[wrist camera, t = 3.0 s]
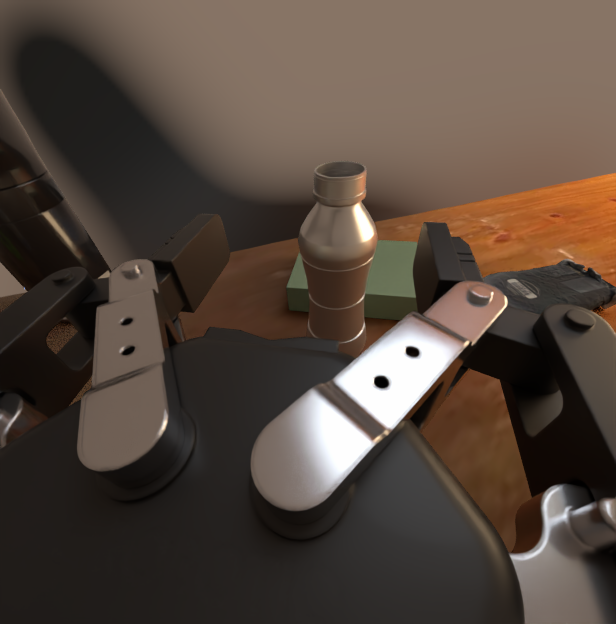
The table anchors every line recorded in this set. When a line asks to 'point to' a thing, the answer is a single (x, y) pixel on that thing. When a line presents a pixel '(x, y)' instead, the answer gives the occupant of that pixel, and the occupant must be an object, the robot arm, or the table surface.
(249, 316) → the table surface
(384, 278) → the riser
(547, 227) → the table surface
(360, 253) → the silver metal bottle
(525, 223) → the table surface
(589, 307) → the dark grey hollow sleeve
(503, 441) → the table surface
